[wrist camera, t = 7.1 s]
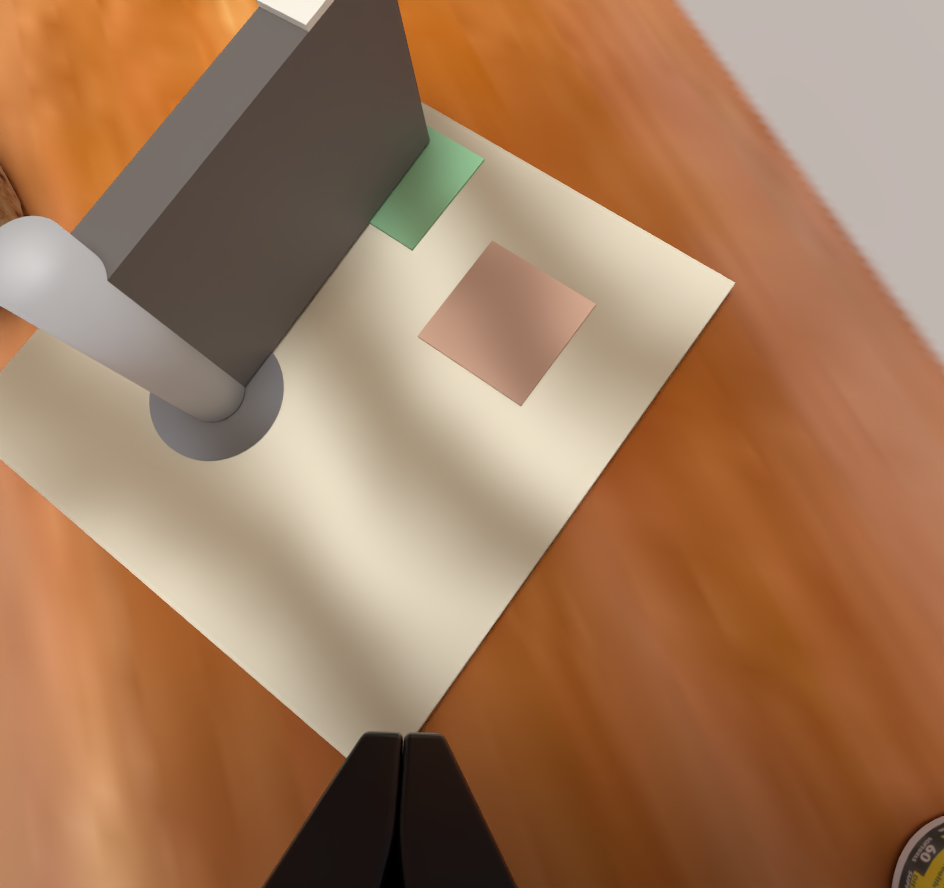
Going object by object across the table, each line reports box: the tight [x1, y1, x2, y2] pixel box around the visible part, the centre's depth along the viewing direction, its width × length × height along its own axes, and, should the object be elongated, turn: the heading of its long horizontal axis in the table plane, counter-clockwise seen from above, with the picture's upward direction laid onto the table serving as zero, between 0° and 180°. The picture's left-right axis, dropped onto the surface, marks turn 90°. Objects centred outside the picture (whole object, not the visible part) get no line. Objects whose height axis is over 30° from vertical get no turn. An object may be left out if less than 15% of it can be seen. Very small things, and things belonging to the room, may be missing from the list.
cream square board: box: [0, 102, 735, 758], centre depth 22 cm, size 18×18×1 cm
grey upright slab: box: [0, 0, 430, 422], centre depth 19 cm, size 12×2×8 cm, turn 146°
